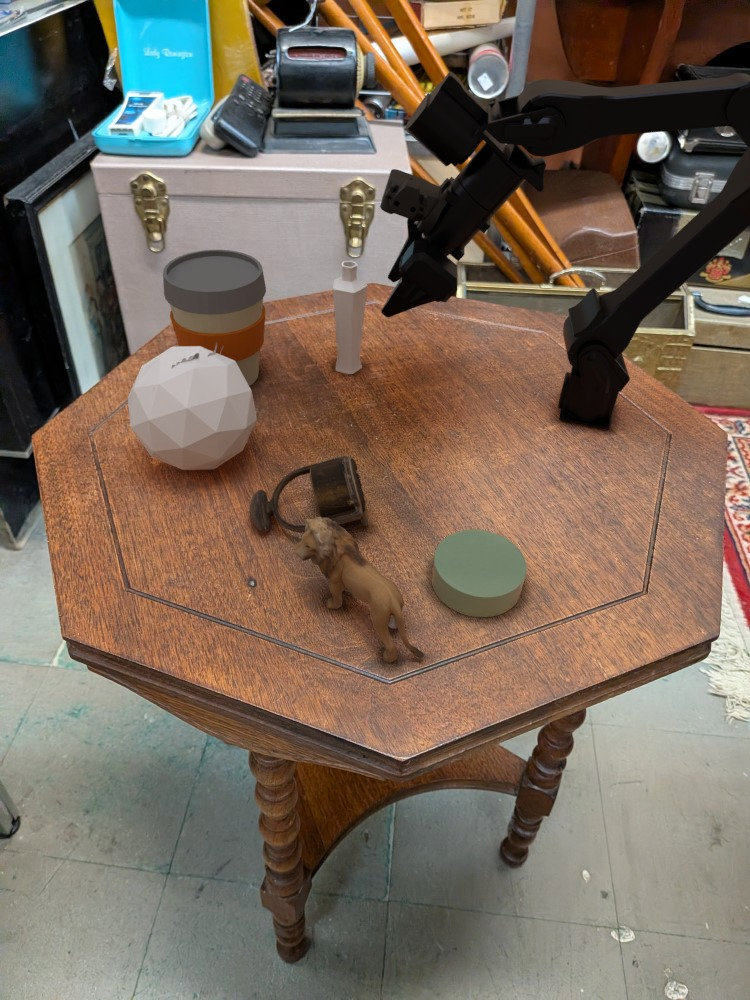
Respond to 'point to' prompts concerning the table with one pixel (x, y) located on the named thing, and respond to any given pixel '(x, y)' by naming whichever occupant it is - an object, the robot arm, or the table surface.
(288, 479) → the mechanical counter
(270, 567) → the table surface
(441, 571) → the ceramic stand
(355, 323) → the perfume bottle
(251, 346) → the reusable coffee cup
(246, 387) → the geodesic sphere
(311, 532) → the lion figurine
